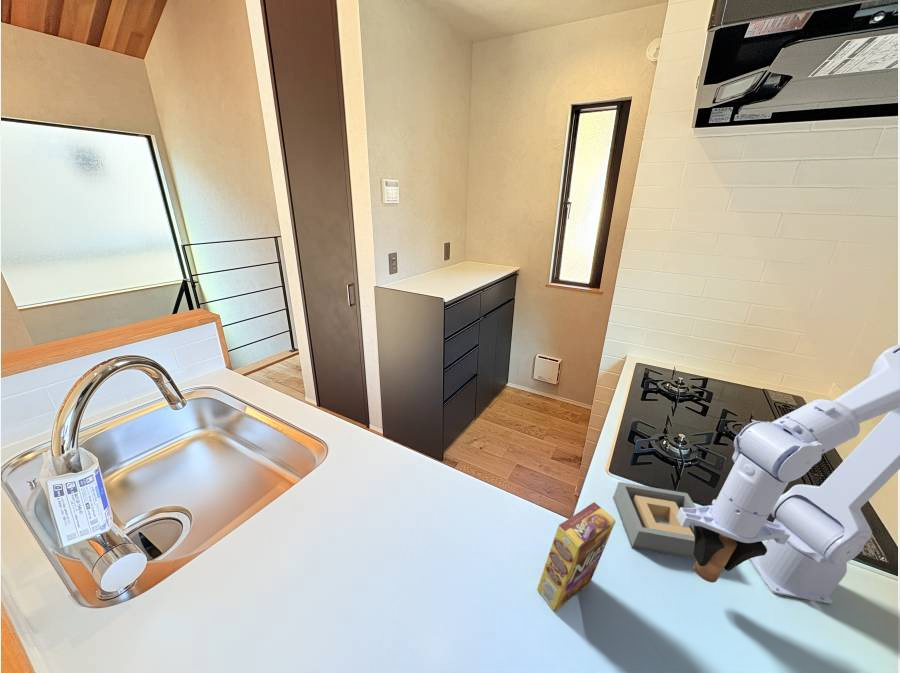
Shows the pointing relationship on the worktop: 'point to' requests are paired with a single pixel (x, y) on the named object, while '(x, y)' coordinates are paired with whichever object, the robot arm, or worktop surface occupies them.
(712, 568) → the peg
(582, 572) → the candy box
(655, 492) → the tray
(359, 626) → the worktop surface
